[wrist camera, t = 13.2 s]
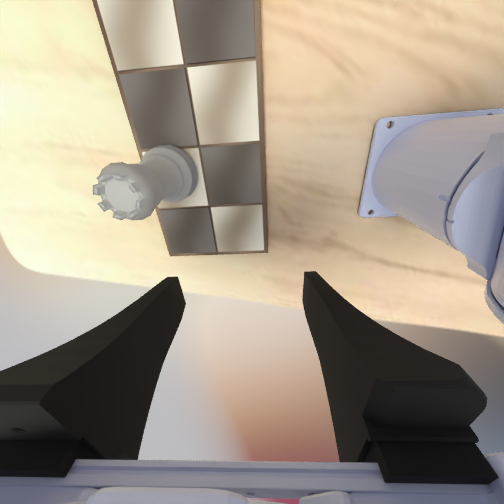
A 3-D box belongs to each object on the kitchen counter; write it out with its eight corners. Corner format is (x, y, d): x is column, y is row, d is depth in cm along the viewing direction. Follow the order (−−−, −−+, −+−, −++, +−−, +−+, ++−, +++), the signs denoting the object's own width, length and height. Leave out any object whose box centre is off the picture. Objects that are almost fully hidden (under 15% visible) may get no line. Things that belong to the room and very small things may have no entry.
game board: (257, -56, 12) (257, -70, 11) (267, 248, 22) (268, 253, 21) (89, -32, 13) (76, -44, 12) (172, 252, 23) (169, 257, 22)
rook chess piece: (206, 192, 19) (173, 226, 12) (162, 204, 19) (106, 243, 12) (186, 137, 16) (131, 138, 10) (137, 153, 17) (53, 165, 10)
